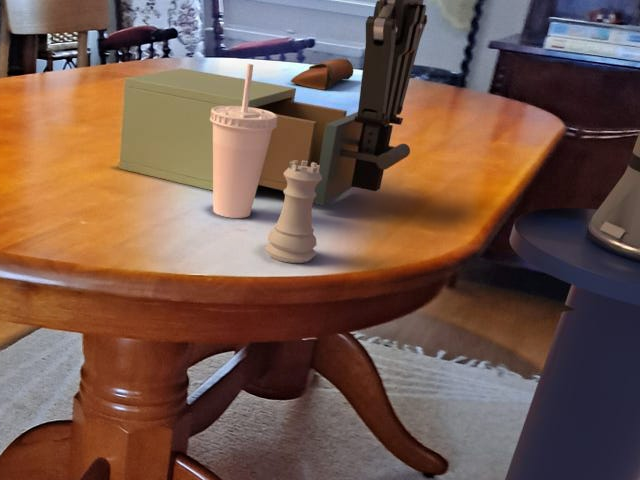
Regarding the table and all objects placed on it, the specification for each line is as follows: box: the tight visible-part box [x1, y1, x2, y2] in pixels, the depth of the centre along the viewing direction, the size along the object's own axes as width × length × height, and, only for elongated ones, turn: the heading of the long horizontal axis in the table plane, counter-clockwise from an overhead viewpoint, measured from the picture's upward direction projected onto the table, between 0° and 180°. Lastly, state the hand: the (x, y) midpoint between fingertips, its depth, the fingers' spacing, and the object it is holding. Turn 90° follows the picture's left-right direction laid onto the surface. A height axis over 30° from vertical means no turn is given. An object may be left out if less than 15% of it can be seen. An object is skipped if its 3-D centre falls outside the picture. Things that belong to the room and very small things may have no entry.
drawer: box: [255, 99, 411, 206], centre depth 89 cm, size 19×12×8 cm, turn 60°
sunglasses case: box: [290, 58, 354, 91], centre depth 167 cm, size 18×7×7 cm
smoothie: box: [210, 63, 277, 219], centre depth 80 cm, size 6×6×14 cm
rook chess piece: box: [264, 160, 322, 264], centre depth 71 cm, size 4×4×8 cm
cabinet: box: [118, 68, 297, 191], centre depth 94 cm, size 15×13×10 cm
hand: (365, 187), depth 88 cm, fingers closed
